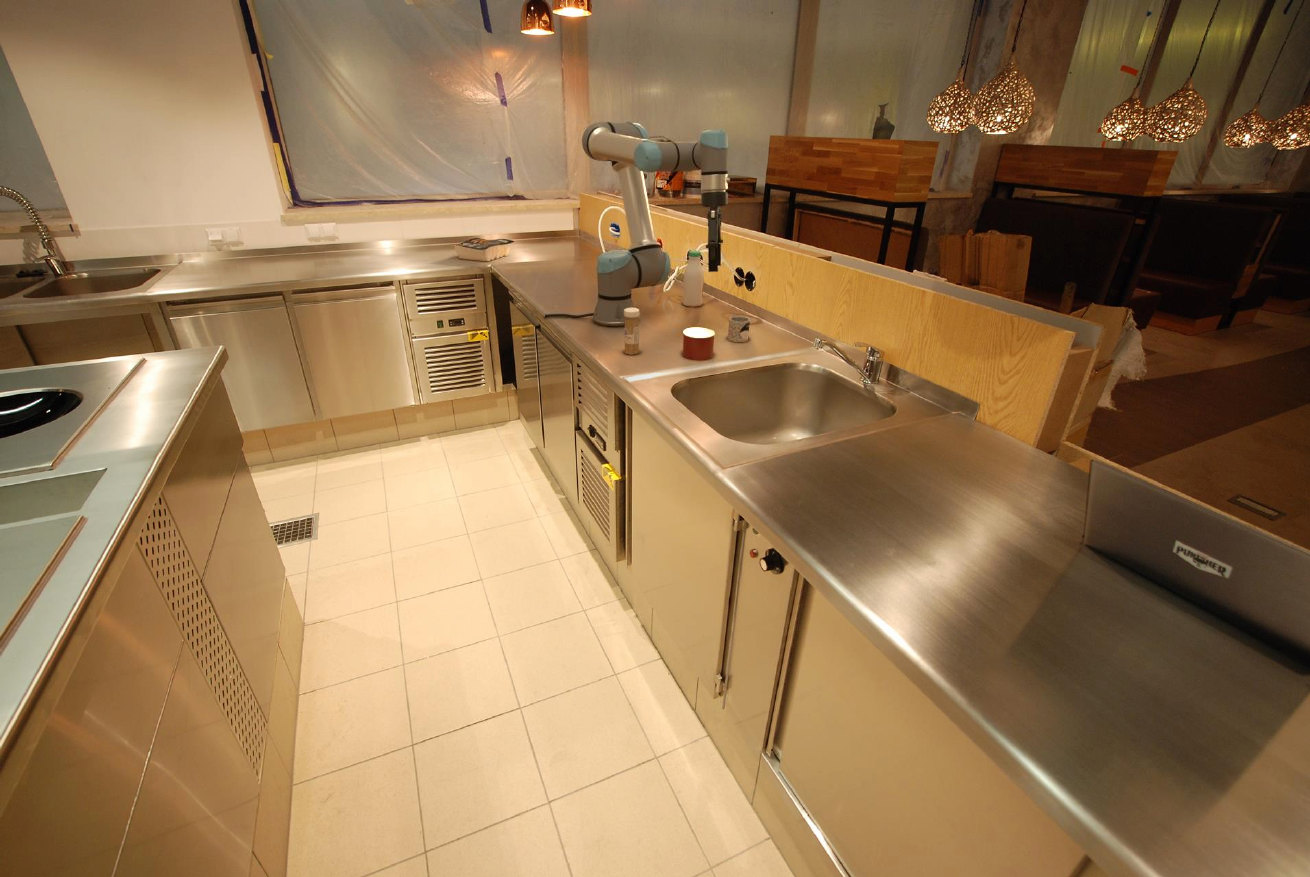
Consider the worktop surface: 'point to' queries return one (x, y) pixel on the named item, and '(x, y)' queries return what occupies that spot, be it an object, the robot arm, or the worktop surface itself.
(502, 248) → the food packaging
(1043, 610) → the worktop surface
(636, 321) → the sprinkles bottle
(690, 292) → the milk bottle
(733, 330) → the mug
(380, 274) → the worktop surface
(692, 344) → the tin
